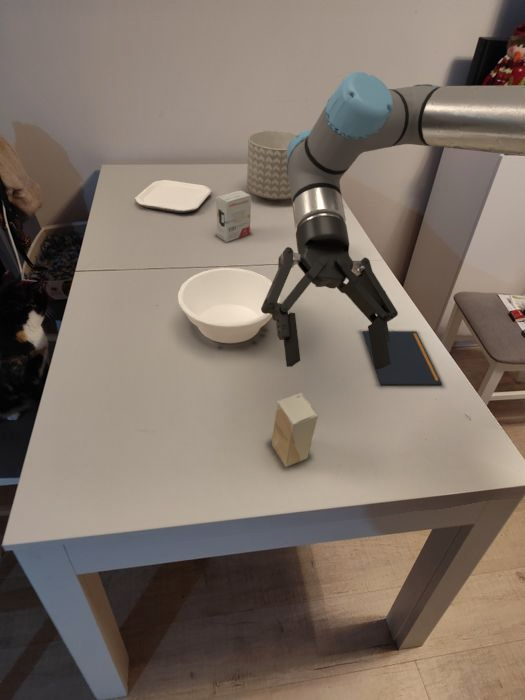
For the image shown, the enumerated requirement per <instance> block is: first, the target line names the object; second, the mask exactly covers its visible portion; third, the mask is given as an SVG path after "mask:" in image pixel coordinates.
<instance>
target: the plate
mask: <svg viewBox="0 0 525 700" xmlns="http://www.w3.org/2000/svg"><path fill="white" fill-rule="evenodd" d="M212 192H213V191H212V190H211V188H209V187H208V186H206V185H204V184H198V183H197V184H196V183H189V182H183V181H178V180H177V181H176V180H170V179H163V180H155V181H153V182H151V183H150V184H149V185H148V186H147V187H146V188H145V189H143V190H142V191H141V192H140V193H138V195H136V196H135V197H134V201H135V202H136V203H137V204H138V205H139V206H141V207H145V208H146V209H147V208H148V209H152V210H158V211H164V212H171V213H177V214H186V213H191V212H194V211H197V210H198V209H199V208H200V207H201V206H202V204H203V203H204V202H205V201H206V200H207V198H208V197H209V196H210V195H211V194H212Z"/></svg>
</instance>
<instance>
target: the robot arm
mask: <svg viewBox="0 0 525 700" xmlns="http://www.w3.org/2000/svg"><path fill="white" fill-rule="evenodd" d="M298 134H299V135H298V136H297V137H294V138H293V139H292V140H291V141H290V143H289V145H288V148H287V173H288V177H289V184H290V191H291V198H290V199H291V204H292V213H293V221H294V230H295V239H296V248H297V249H296V250H297V252H294V250H293V248H291V246H286V248H284V250H283V251H282V253H280V255H279V256H278V262H277V263H278V265H277V268H278V269H277V271H276V273H275V275H274V278H273V280H272V285H271V287H270V289H269V291H268V294H267V296H266V298H265V300H264V303H263V305H262V307H261V311H262V312H263V313H264V314H267V313H269V314H272V317H271V319H272V320H273V321H274V322H275V324H276V334H277V338H278V340H279V341H283V345H284V355H285V356H284V357H285V364H286V367H287V368H292V367H294V366H295V365H296V364H298V363H299V362H301V353H300V346H299V345H300V344H299V342H300V341H299V333H298V327H297V317H296V313H295V312H289V311H290V310H291V309H292V307H293V306H294V304H296V302H297V301H298V300H299V299H300V297H301V296H302V294H303V293H304V292H305V291H306V290H307V288H308V287H309V286H310V285H311V284H312V285H315V286H314V287H316V288H324V287H326V288H329V289H336V288H337V290H338V291H339V292H340V293H342V294H345V295H346V296H347V297H348V299H350V301H351V302H352V304H354V305H355V306H356V308H357V309H358V310H359V311H360V312H361V313H362V314H363V316H364V317H366V319H367V320H368V321H369V322H370V324H369V325H368V326H367V329H368V330H367V331H369V337H370V343H371V349H372V355H373V361H374V364H373V367H374V370H375V369H381V368H383V367H385V366H387V365H389V364H391V362H390V356H389V351H388V345H387V343H389V342H390V336H389V331H390V330H389V325H388V322H390V321H391V320H393V319H394V318H396V317H397V316H398V315H399V312H398V310H397V309H396V307H395V305H394V303H393V301H391V298H390V297H389V295H388V294H387V292H386V291H385V289H384V287H383V285H382V284H381V283H380V281H379V279H378V278H377V276H376V273H374V271H373V268H372V264H371V261H370V259H369V258H368V257H363V258H361V259H360V260H353V259H352V258H351V256H350V239H349V233H348V226H347V224H346V221H347V218H346V213H345V207H344V202H343V196H342V192H341V184H340V183H341V182H340V180H341V178H342V177H343V176H344V175H345V173H346V172H347V171H348V170H349V169H351V166H352V165H353V164H354V163H355V161H356V160H357V159H358V157H359V156H360V155H361V154H363V153H367V152H372V151H376V150H377V151H378V150H382V149H387V148H392V147H398V146H403V145H415V146H424V147H437V148H446V149H457V150H466V151H476V152H483V153H493V154H501V155H511V156H521V157H525V85H522V84H521V85H444V86H441V85H437V84H432V83H431V84H430V83H423V84H414V85H413V86H405V87H397V88H388V86H387V85H386V84H385V83H384V82H383V81H382V80H381V79H379V77H377V76H376V75H374V74H370V75H369V74H368V73H366V72H365V71H354V72H351V73H349V74H348V75H346V76H345V77H344V78H343V79H342V81H341V82H340V84H339V85H338V86H337V88H336V90H335V91H334V92H333V93H332V94H331V95H330V97H329V98H328V99H327V101H326V104H325V106H324V108H323V110H322V111H321V113H320V115H319V117H318V118H317V120H316V121H315V124H314V126H312V128H311V129H306V130H303V131H301V132H299V133H298ZM296 264H297V266H298V268H299V269H300V270H301V271H302V272H303V274H304V275H303V276H302V277H301V279H300V280H299V281H298V283H297V284H296V285H295V286H294V288H293V289H292V290H291V292H289V294H288V295H287V296H286V298H285V299H284V300H283V301H282V303H281V302H280V303H277V301H278V298H279V296H281V293H282V291H283V289H284V286H285V284H286V282H287V280H288V277H289V275H290V272H291V270H292V269H293V268H294V267H295V266H296ZM346 279H347V280H348V282H347V283H345V281H346ZM373 361H372V362H373Z"/></svg>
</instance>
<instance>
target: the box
mask: <svg viewBox="0 0 525 700" xmlns="http://www.w3.org/2000/svg"><path fill="white" fill-rule="evenodd" d="M318 416H319V415H318V412H317V411H316V410H315V408H314V407H313V406H312V405H311V403H310V402H309V400H308V399H307V398H306V396H305V395H304V394H303V393H302V392H298V393H295V394H291V395H289V396H287V397H286V396H285V397H284V398H281V399H279V400H277V403H276V409H275V417H274V424H273V431H272V439H271V446H272V448H273V449H274V451H275V453H276V454H277V456H278V458H279V459H280V461H281V462H282V464H283V466H285V468H286V467H290V466H293V465H295V464H297V463H300V462H302V461H305V460H308V457H309V454H310V450H311V445H312V441H313V437H314V433H315V429H316V424H317V420H318V418H319V417H318Z"/></svg>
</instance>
